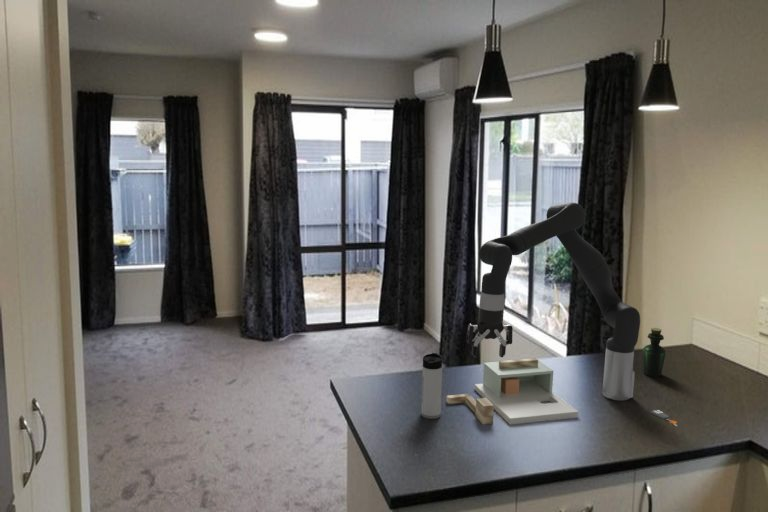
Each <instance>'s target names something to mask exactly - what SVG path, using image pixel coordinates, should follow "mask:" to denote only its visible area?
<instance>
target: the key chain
mask: <svg viewBox="0 0 768 512" xmlns="http://www.w3.org/2000/svg"><path fill="white" fill-rule="evenodd" d="M650 414H652V415H653V416H655V417H657V418H659V419H661V420H664V421H668V423H670V424H672V425H674V426H675V427H678V422H677V421H676V420H671V416H669V415H668V414H666V413H664V412H663V411H661V410H659V409H653V410H650Z"/></svg>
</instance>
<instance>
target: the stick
mask: <svg viewBox="0 0 768 512" xmlns="http://www.w3.org/2000/svg"><path fill="white" fill-rule="evenodd" d="M538 360H539V359H538V358H536V357H534V358H522V359H521V358H520V359H519V358H517V359H509V360H508V359H507V360H505V359H504V360H498V362H499V367H500V368H501V369H506V368H519V367H531V366H538Z"/></svg>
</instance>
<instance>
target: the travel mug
mask: <svg viewBox="0 0 768 512" xmlns="http://www.w3.org/2000/svg"><path fill="white" fill-rule="evenodd" d="M421 372H422V373H421V376H422V378H421V379H422V381H421V416H422V417H423V418H425V419H430V420H436V419H439V418H440V417H441V416H442V414H441V413H442V412H441V410H442V387H443V386H442V383H443V357H442V356H441V355H440V354H438V352H432V353H428V354H425V355H424V356H423V357H422V371H421Z"/></svg>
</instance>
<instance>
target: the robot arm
mask: <svg viewBox="0 0 768 512" xmlns="http://www.w3.org/2000/svg"><path fill="white" fill-rule="evenodd" d="M545 216H546V219H544V220H540V221H538V222H535V223H532V224H529V225H526V226H523V227H521V228H518V229H517V230H516V231H514V232H511V233H509V234H507V235H504V236H501V237H496V238H494V239H490V240H488V241H486V242H484V243H483V244H482V245H481V246H480V248H479V251H478V258H479V260H480V261H481V262H482V263H484V264H485V265H490V266H492V267H491V270H490V272H485V274H483V275H482V279H481V289H480V291H481V292H480V298H479V305H478V306H479V309H478V321H477V324H471V323H468V325H467V329H466V330H467V331H466V339H465V341H466V343H467V344H468V345H470V346H471V351H470V353H471V355H472V356H473V358H475V359H476V358H478V351H479V350H478V349H479V346H478V345H479V344H480V343H481V342H482V341H483V340H484V339H485V340H491V339H493V340H495V339H497V340H498V341H499V343H500V344H499V349H498V350H499V351H498V356H499V357H500V358H504V356H506V350H507V346H508V345H511V344H512V345H513V330H514V329H513V326H512V325H511V324H510V323H507V324H503V323H504V314H505V312H504V311H505V287H506V279H507V277H508V275H509V271H510V268H511V265H512V262H513V256H519V255H522V254H523V253H525V252H527V251H529V250H531V249H532V248H535V247H536V246H538V245H541V244H542V243H544V242H546V241H548V240H550V239H552V238H555V237H556V238H557V239H558V240H559V241H560V243H561V245H562V246H563V247H564V249H565V251H566V252H567V253H568V256H569V257H570V259H571V260H572V262H573V264H574V265H575V267H576V269H577V271H578V273H579V275H580V276H581V278H582V279H583V281H584V283H585V284H586V286H587V288H588V289H589V290H590V291H589V292H590V293H591V294H592V295H593V297H594V298H595V300H596V301H595V302H596V303H597V305H598V308H599V310H600V311H601V315H602V316H603V318H604V321H605V322H606V324H608V325H609V326H610V327H611V328H614V332H613V337H610V338H608V339H607V340H606V343H605V355H604V357H605V358H604V368H603V380H602V381H603V382H602V392H601V393H602V396H604V397H605V398H607V399H610V400H614V401H627V400H630V399H633V396H634V387H635V374H636V372H635V371H634V369H633V368H634V357H635V347H636V346H637V343H638V342H639V341H638V339H639V335H640V328H641V326H640V325H641V314H640V312H639V311H638V309H637V308H635V307H633V306H632V305H630V304H627V303H624V301H622V300H621V298H620V297H619V295H618V294H617V292H616V291H615V288H614V286H613V278H612V277H613V276H612V272H611V269H610V266H609V264H608V263H607V261H606V260H605V257H604V256H603V254H602V253H601V252H600V251H599V250H598V249H597V248H595V247H594V246H593V244H590V243H589V242H588V241H586V240H585V239H584V238H583V237H582V236H581V235H580V234H579V232H578V231H577V230H578V229H580V228H582V226H583V224H584V223H585V221H586V211H585V209H584V208H583V206H582V205H580V204H579V203H577V202H563V203H556V204H554V205H551V206H549V207H548V209H547V210H546V215H545ZM476 330H477V331H478V332H477V333H476V334H475V337H474V333H475V332H476ZM503 331H505V339H504V337H503V336H502V334H501V333H503ZM473 337H474V338H473Z"/></svg>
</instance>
